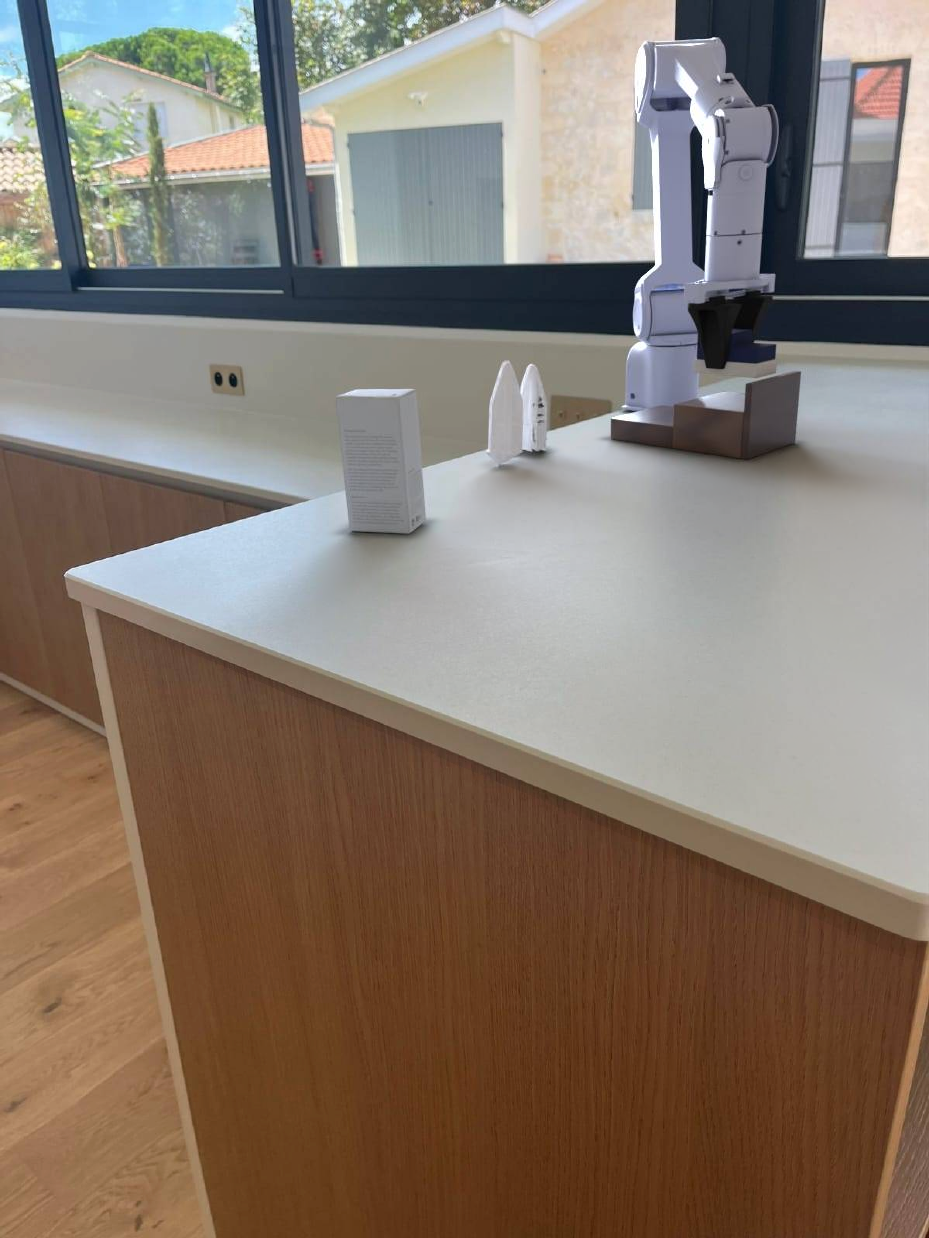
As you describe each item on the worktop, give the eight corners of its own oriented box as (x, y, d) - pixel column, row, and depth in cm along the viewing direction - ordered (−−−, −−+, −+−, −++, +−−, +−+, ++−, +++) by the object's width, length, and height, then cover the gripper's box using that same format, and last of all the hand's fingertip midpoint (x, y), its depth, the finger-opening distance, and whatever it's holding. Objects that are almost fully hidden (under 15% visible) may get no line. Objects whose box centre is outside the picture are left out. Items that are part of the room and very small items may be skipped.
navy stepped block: (693, 372, 107) (695, 331, 105) (713, 368, 109) (715, 327, 108) (756, 378, 102) (759, 334, 100) (776, 373, 104) (779, 330, 102)
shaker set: (512, 472, 102) (509, 367, 98) (477, 469, 104) (473, 366, 99) (555, 448, 112) (554, 351, 107) (522, 446, 113) (520, 351, 109)
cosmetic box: (427, 521, 86) (418, 388, 82) (409, 535, 83) (399, 396, 78) (367, 518, 88) (354, 388, 84) (347, 531, 85) (333, 396, 80)
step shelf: (610, 438, 115) (611, 371, 112) (660, 425, 121) (662, 360, 118) (747, 459, 102) (752, 384, 99) (795, 443, 108) (801, 371, 105)
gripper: (728, 237, 93) (720, 377, 99) (803, 230, 102) (793, 359, 108) (669, 239, 98) (665, 372, 104) (746, 232, 107) (738, 356, 112)
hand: (726, 365), depth 106 cm, fingers closed on navy stepped block, 4 cm apart
